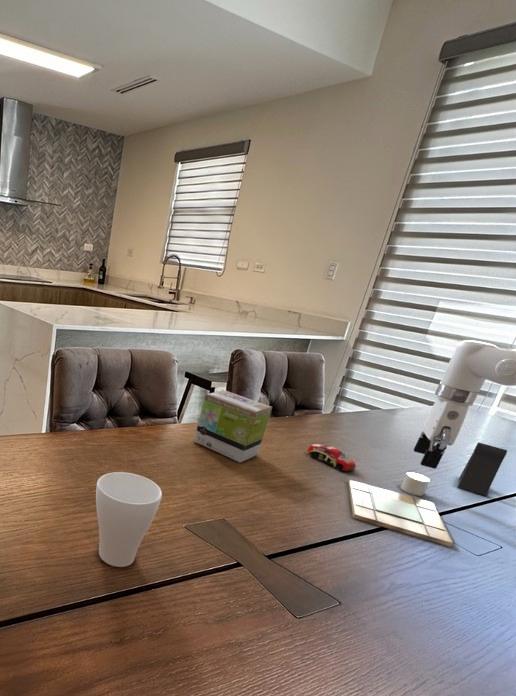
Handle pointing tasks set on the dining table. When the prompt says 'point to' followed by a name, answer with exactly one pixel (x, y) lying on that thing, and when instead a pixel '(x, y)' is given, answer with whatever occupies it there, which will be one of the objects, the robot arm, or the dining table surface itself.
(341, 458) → the race car
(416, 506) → the board
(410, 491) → the white cylinder puck
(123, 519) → the cup
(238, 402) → the tea box
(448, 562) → the dining table surface
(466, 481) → the phone stand
